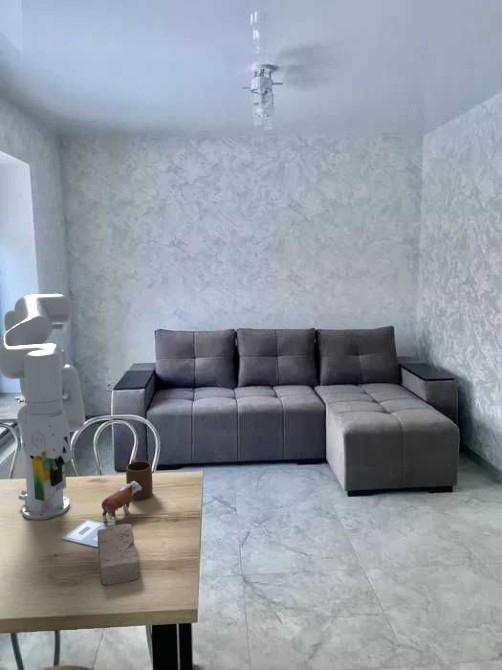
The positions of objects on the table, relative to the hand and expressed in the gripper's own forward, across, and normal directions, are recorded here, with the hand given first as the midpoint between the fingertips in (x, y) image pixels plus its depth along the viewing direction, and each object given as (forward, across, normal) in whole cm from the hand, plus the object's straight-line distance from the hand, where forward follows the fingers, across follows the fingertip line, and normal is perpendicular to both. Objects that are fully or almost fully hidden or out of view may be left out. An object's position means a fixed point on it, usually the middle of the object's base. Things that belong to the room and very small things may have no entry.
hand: (50, 481), depth 117 cm
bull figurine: (+21, +1, +25) cm, 33 cm away
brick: (+21, +13, +6) cm, 25 cm away
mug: (+21, -2, +38) cm, 43 cm away
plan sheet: (+21, +1, +14) cm, 25 cm away
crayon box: (+3, 0, 0) cm, 3 cm away
